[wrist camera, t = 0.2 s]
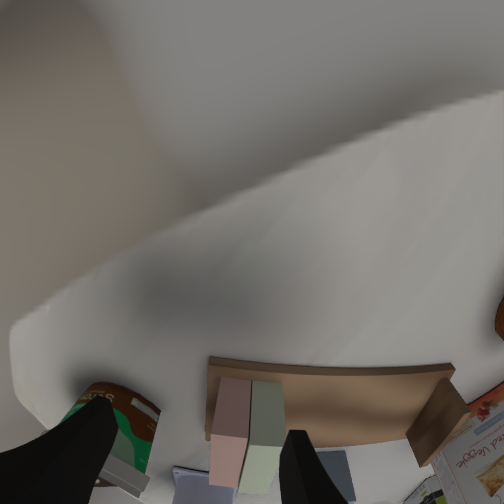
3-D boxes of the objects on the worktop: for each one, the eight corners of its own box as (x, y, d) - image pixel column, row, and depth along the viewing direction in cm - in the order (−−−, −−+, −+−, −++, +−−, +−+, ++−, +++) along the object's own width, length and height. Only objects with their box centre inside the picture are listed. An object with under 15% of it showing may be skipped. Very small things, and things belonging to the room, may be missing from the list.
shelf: (409, 431, 23) (426, 469, 17) (206, 432, 23) (197, 482, 17) (450, 363, 20) (481, 402, 14) (210, 356, 20) (195, 415, 14)
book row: (265, 441, 21) (265, 494, 16) (216, 436, 21) (208, 489, 16) (282, 383, 19) (287, 447, 13) (221, 376, 19) (209, 440, 13)
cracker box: (511, 373, 21) (584, 470, 1) (500, 401, 23) (559, 493, 3) (428, 422, 23) (487, 559, 2) (421, 446, 24) (466, 566, 4)
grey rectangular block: (323, 480, 26) (329, 523, 19) (296, 481, 26) (300, 525, 19) (344, 450, 24) (356, 500, 17) (314, 451, 24) (321, 504, 17)
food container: (130, 359, 20) (77, 449, 11) (173, 408, 22) (143, 498, 12) (58, 382, 22) (13, 442, 13) (93, 421, 24) (59, 484, 14)
